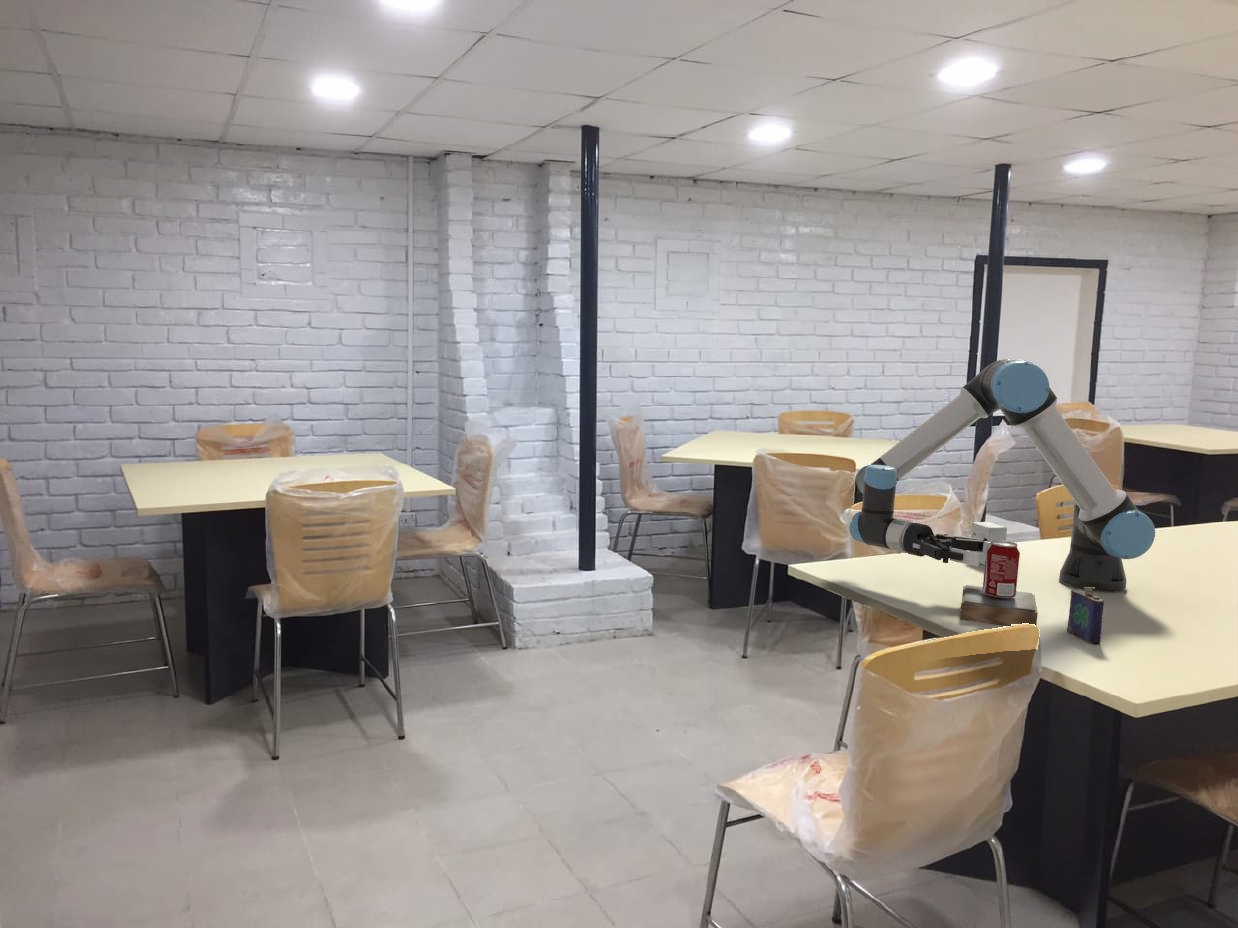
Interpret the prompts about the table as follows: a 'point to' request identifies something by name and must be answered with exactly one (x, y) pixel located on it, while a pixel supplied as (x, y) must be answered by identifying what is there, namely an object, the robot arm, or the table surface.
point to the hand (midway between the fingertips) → (995, 556)
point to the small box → (987, 534)
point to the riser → (997, 607)
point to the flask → (1086, 615)
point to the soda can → (1001, 570)
